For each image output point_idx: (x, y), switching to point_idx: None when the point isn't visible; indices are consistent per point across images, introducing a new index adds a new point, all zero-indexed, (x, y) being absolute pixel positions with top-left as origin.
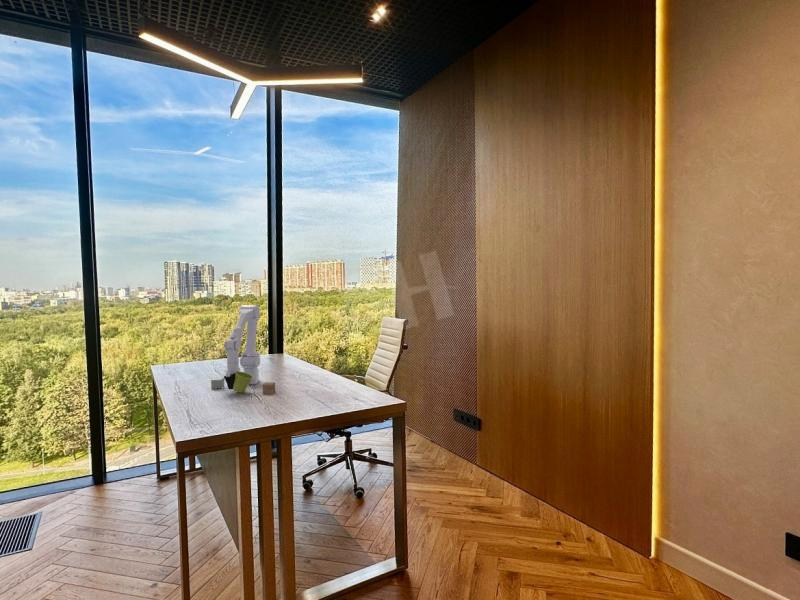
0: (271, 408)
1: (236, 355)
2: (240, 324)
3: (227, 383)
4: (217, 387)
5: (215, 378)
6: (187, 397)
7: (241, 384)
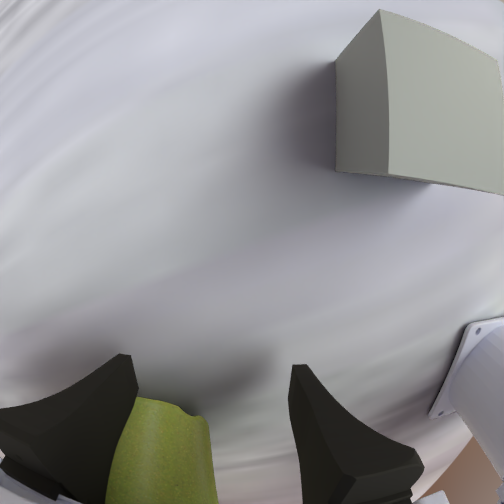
0: None
1: None
2: None
3: (74, 392)
4: (342, 127)
5: (478, 66)
6: (20, 31)
7: None
